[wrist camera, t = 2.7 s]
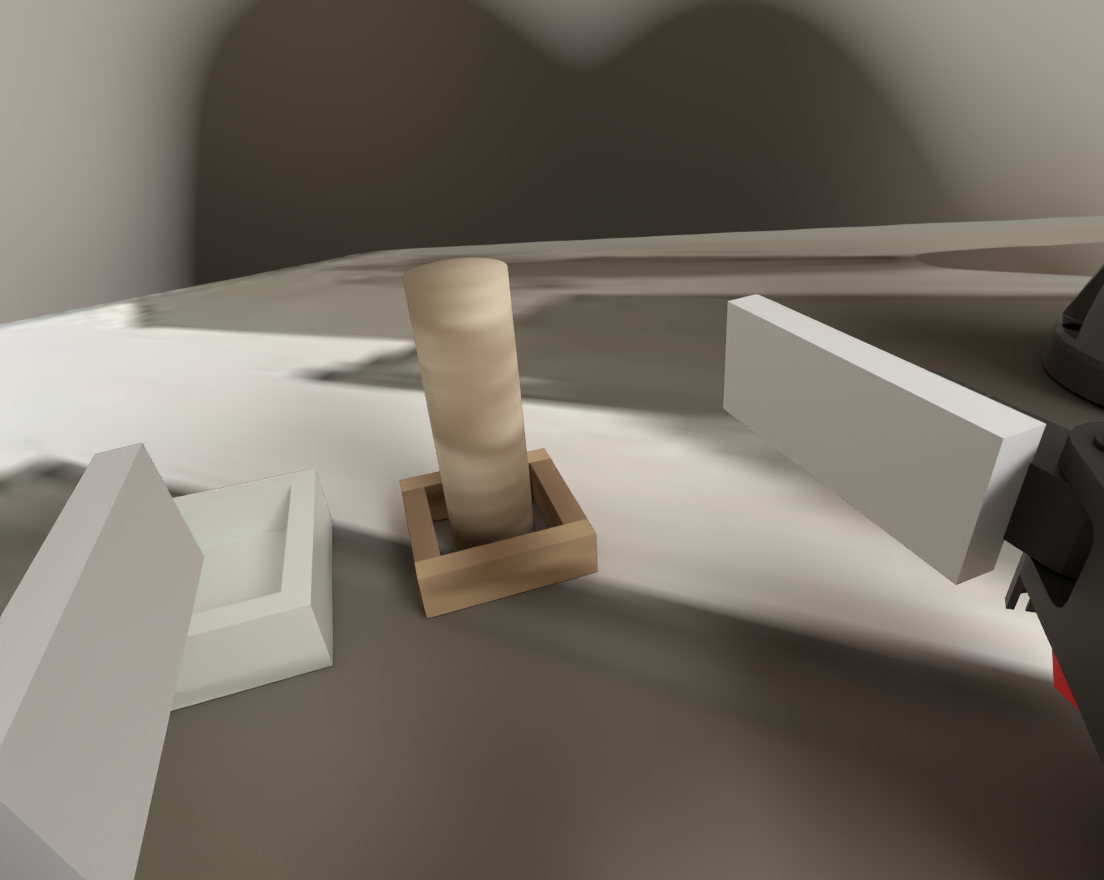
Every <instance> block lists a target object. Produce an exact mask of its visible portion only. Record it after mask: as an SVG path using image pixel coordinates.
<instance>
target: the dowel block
mask: <svg viewBox="0 0 1104 880" xmlns="http://www.w3.org/2000/svg"><path fill="white" fill-rule="evenodd" d="M527 459H528V469H529V478H530V488H531V497H532V498H533V497H534V499H535V501H536V503H537V505H538V507H539V509H540V511H541V513H542V515H543V517H544V519H545V521H546V523H547V525H548V527H549V529H545V530H541V531H537V532H533V533H529V534H525V535H521V536H517V537H513V538H509V539H505V540H501V541H497V542H493V543H490V544H486V545H482V546H478V547H474V548H470V549H466V550H462V551H458V552H454V553H450V554H446V555H442V556H441V555H440V551H439V547H438V543H437V539H436V534H435V530H434V526H433V521H437V520H442V519H446V518H449V516H448V511H447V506H446V500H445V495H444V490H443V485H442V480H441V474H440V471H439V472H435V473H430V474H426V475H421V476H417V477H412V478H408V479H403V480H400V485H401V490H402V496H403V502H404V507H405V513H406V518H407V524H408V529H409V535H410V540H411V546H412V551H413V557H414V562H415V568H416V573H417V579H418V583H419V587H420V591H421V596H422V600H423V604H424V608H425V612H426V616H427V618H431V617H434V616H438V615H442V614H445V613H449V612H453V611H456V610H460V609H463V608H467V607H471V606H474V605H478V604H482V603H485V602H489V601H493V600H496V599H500V598H503V597H507V596H511V595H514V594H518V593H522V592H525V591H529V590H532V589H536V588H540V587H543V586H547V585H551V584H554V583H558V582H562V581H565V580H569V579H572V578H576V577H580V576H583V575H587V574H591V573H594V572H598V570H597V545H596V532H595V531H594V529H593V528H592V526H591V524H590V523H589V521H588V519H587V518H586V516H585V514H584V513H583V511H582V509H581V508H580V506H579V504H578V503H577V501H576V500H575V498H574V496H573V495H572V493H571V491H570V490H569V488H568V486H567V485H566V483H565V481H564V480H563V478H562V476H561V475H560V473H559V472H558V470H557V468H556V467H555V465H554V463H553V462H552V460H551V458H550V457H549V455H548V453H547V452H546V450H545V449H544V448H543V449H538V450H534V451H529V452H527Z"/></svg>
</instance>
